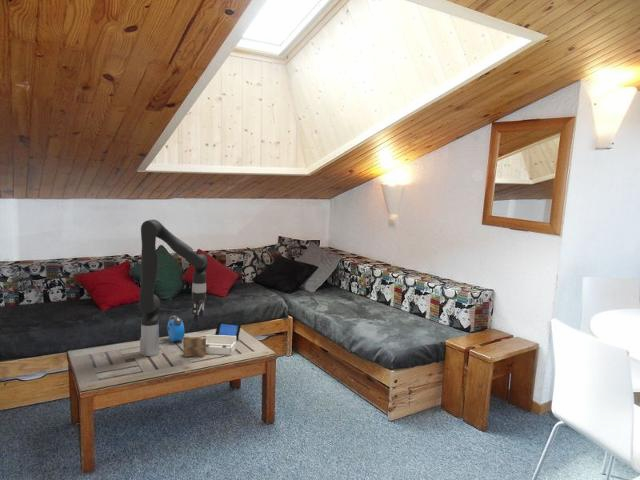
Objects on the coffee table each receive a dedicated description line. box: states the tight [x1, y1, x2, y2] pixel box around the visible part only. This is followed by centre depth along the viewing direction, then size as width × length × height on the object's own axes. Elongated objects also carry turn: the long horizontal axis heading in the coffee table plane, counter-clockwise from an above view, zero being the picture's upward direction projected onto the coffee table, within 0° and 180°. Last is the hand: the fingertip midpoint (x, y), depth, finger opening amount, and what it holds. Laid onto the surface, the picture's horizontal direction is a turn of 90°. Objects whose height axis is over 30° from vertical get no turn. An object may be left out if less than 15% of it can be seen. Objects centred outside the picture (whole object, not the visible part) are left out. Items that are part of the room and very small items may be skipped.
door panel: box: [182, 336, 207, 357], centre depth 267 cm, size 12×2×10 cm, turn 86°
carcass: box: [205, 334, 237, 356], centre depth 275 cm, size 18×12×7 cm
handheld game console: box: [214, 321, 242, 342], centre depth 294 cm, size 16×13×9 cm
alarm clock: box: [167, 315, 185, 342], centre depth 290 cm, size 13×6×15 cm, turn 37°
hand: (198, 319), depth 265 cm, fingers open, 8 cm apart
